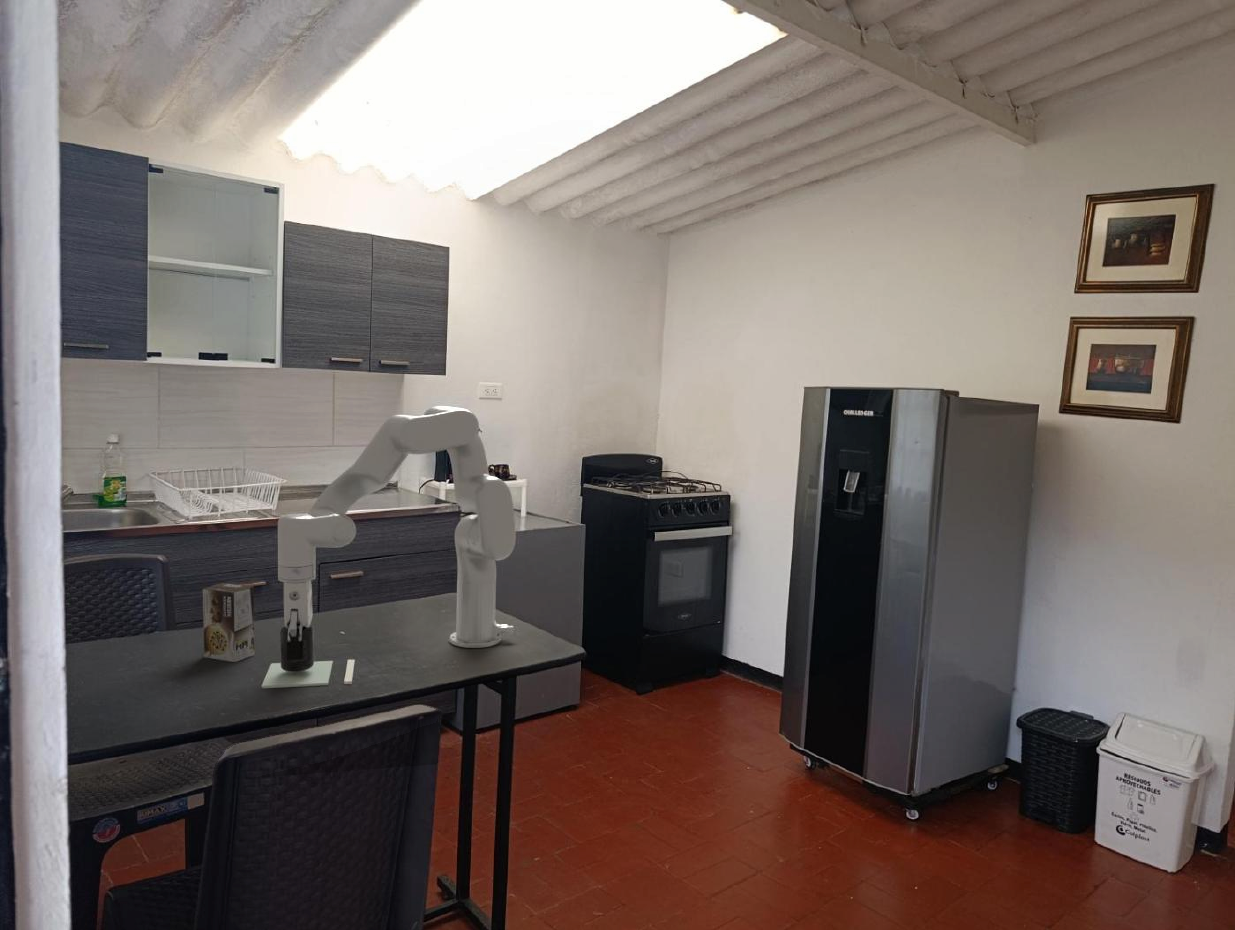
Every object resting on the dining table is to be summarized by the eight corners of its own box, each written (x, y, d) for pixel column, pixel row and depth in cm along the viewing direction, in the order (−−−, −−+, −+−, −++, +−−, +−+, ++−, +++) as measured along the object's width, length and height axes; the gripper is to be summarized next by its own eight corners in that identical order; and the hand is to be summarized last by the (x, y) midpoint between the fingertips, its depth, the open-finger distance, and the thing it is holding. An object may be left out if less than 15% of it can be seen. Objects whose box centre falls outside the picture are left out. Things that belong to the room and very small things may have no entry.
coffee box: (255, 654, 195) (255, 586, 193) (234, 663, 189) (234, 592, 187) (224, 649, 198) (223, 581, 196) (202, 657, 192) (201, 587, 190)
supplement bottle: (319, 662, 186) (319, 609, 185) (305, 673, 179) (304, 618, 178) (289, 660, 187) (289, 607, 185) (274, 671, 180) (273, 616, 179)
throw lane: (354, 662, 193) (354, 659, 193) (351, 683, 179) (351, 681, 179) (271, 665, 188) (271, 663, 188) (261, 688, 175) (261, 685, 175)
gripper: (311, 581, 173) (311, 665, 175) (319, 562, 190) (319, 640, 192) (272, 582, 171) (273, 667, 173) (283, 563, 188) (283, 641, 190)
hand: (297, 652), depth 183 cm, fingers closed on supplement bottle, 6 cm apart
